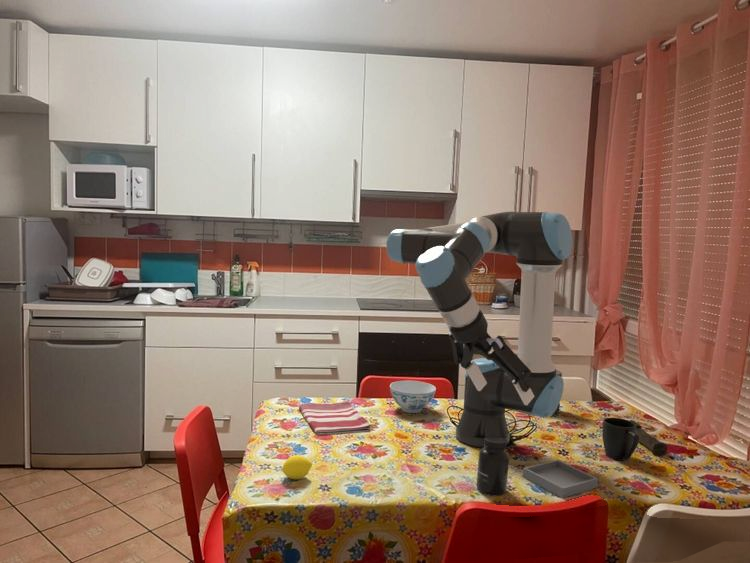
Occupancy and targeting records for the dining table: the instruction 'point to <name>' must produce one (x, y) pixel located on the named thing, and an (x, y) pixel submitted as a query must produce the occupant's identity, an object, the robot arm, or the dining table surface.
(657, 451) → the hand tool
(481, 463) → the supplement bottle
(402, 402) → the chinaware
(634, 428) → the mug
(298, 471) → the lemon
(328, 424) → the dish towel
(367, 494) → the dining table surface
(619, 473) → the dining table surface
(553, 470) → the tray
